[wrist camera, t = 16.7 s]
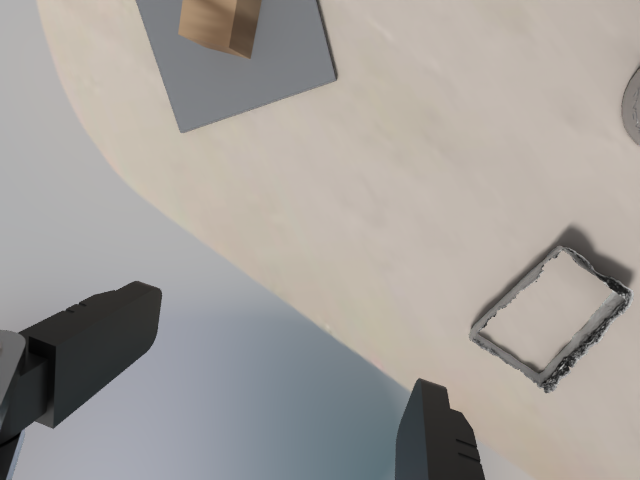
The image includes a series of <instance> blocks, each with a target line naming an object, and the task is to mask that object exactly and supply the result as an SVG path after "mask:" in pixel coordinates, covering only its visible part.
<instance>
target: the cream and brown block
mask: <svg viewBox="0 0 640 480" xmlns="http://www.w3.org/2000/svg"><path fill="white" fill-rule="evenodd" d="M261 1H262V0H183V1H182V9H181V16H180V24H179V31H178V35H181V36H183V37H185V38H187V39H189V40H191V41H193V42H195V43H197V44H199V45H201V46H203V47H206V48H209V49H213V50H217V51H221V52H224V53H228V54H232V55H236V56H240V57H243V58H247V59H251V54H252V49H253V44H254V38H255V33H256V28H257V23H258V17H259V12H260V7H261Z"/></svg>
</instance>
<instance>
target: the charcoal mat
mask: <svg viewBox="0 0 640 480" xmlns="http://www.w3.org/2000/svg"><path fill="white" fill-rule="evenodd" d="M182 1H183V0H136V3H137V6H138V8H139V11H140V14H141V17H142V20H143V23H144V26H145V29H146V32H147V35H148V38H149V41H150V44H151V47H152V50H153V53H154V56H155V59H156V62H157V65H158V68H159V71H160V74H161V77H162V80H163V83H164V86H165V88H166V91H167V94H168V97H169V100H170V103H171V106H172V109H173V112H174V115H175V118H176V121H177V124H178V127H179V130H180V133H185V132H188V131H191V130H193V129H196V128H199V127H202V126H205V125H208V124H211V123H214V122H217V121H220V120H223V119H226V118H229V117H232V116H234V115H237V114H240V113H243V112H246V111H249V110H252V109H255V108H258V107H261V106H264V105H267V104H270V103H273V102H275V101H278V100H281V99H284V98H287V97H290V96H293V95H296V94H299V93H302V92H305V91H308V90H311V89H313V88H316V87H319V86H322V85H325V84H328V83H331V82H334V81H337V80H336V76H335V72H334V68H333V64H332V60H331V56H330V52H329V48H328V44H327V40H326V36H325V32H324V28H323V24H322V20H321V16H320V12H319V8H318V4H317V1H316V0H262V1H261V7H260V12H259V17H258V23H257V28H256V33H255V38H254V44H253V49H252V54H251V59H247V58H243V57H240V56H236V55H232V54H228V53H224V52H221V51H217V50H213V49H209V48H206V47H203V46H201V45H199V44H197V43H195V42H193V41H191V40H189V39H187V38H185V37H183V36H181V35H178V31H179V24H180V16H181V9H182Z"/></svg>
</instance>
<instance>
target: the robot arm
mask: <svg viewBox="0 0 640 480" xmlns="http://www.w3.org/2000/svg"><path fill="white" fill-rule="evenodd" d="M622 119H623V123H624V127H625V129H626V131H627V133H628V134H629V136H630V137H631V138H632V139H633V141H634V142H635V143H636V144H637V145H639V146H640V68H639V69H638V71H637V72H636V73H635V75H634V76H633V78H632V79H631V80H630V82H629V84H628V87H627V89H626V91H625V93H624V98H623V102H622ZM161 299H162V292H161V290H160V289H159V288H157V287H154V286H151V285H148V284H145V283H142V282H139V281H134V282H132V283H130V284H128V285H126V286H124V287H122V288H120V289H118V290H116V291H115V290H113V291H109V292H104V293H101V294H96V295H93V296H91V297H89V298H87V299H85V300H83V301H81V302H79V304H75V305H73V306H71V307H69V308H67V309H66V311H61V312H59V313H57V314H55V315H53V316H51V317H49V318H47V319H45V320H43V321H41V322H39V323H37V324H35V325H33V326H31V327H29V328H27V329H25V330H23V331H21V332H19V333H16V332H12V331H7V330H0V480H12V477H13V473H14V470H15V467H16V464H17V461H18V457H19V454H20V451H21V448H22V444H23V441H24V437H25V428H26V427H27V426H29V425H30V424H31V423H33V422H34V421H36V422H38V423H41V424H43V425H46V426H48V427H51V428H55V427H56V426H57V425H58V424H59V423H61V422H62V421H63V420H64V419H66V418H67V417H68V416H69V415H70V414H71V413H73V412H74V411H75V410H77V408H79V407H80V406H81V405H83V404H84V403H85V402H86V401H87V400H89V399H90V398H91V397H92V396H94V395H95V394H96V393H97V392H98V391H100V390H101V389H102V388H103V387H105V386H106V385H107V384H108V383H109V382H111V381H112V380H113V379H114V378H116V377H117V376H118V375H119V374H120V373H121V372H123V371H124V370H125V369H126V368H127V367H129V366H130V365H131V364H133V363H134V362H135V361H136V360H137V359H139V358H140V357H141V356H142V355H144V354H145V353H146V352H147V351H148V350H149V349H150V347H151V346H152V344H153V343H154V340H155V338H156V335H157V330H158V322H159V315H160V307H161ZM395 480H485V477H484V473H483V469H482V465H481V464H480V456H479V452H478V450H477V444H476V440H475V436H474V432H473V429H472V427H471V426H470V424H469V423H468V421H467V420H466V418H465V417H464V415H463V414H462V413H461V412H458V411H456V410H453V409H450V404H449V399H448V393H447V389H446V387H444V386H441V385H438V384H435V383H432V382H429V381H426V380H423V379H420V378H419V379H418V380H417V381H416V383H415V386H414V388H413V391H412V393H411V396H410V398H409V401H408V404H407V406H406V409H405V412H404V414H403V417H402V419H401V422H400V425H399V429H398V433H397V439H396V458H395Z"/></svg>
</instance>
